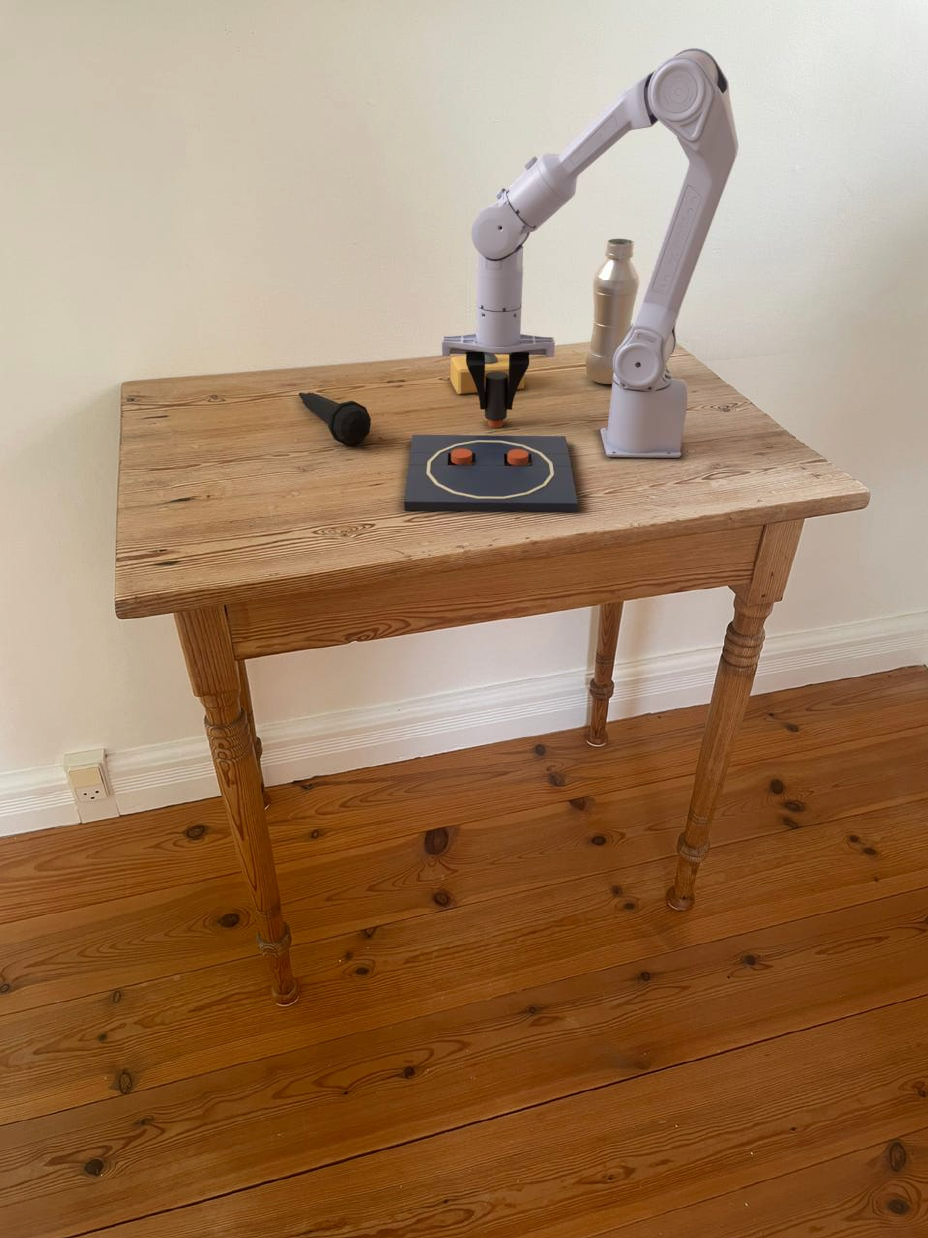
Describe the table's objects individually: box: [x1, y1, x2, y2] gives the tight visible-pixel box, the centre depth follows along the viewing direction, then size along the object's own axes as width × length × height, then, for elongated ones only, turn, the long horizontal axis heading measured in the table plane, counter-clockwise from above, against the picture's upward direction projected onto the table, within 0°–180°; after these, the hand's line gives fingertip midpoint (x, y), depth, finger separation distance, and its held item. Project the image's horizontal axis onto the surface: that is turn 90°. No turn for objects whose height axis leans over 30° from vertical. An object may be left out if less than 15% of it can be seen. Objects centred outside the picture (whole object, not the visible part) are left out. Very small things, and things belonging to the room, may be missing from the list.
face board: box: [403, 434, 579, 513], centre depth 113 cm, size 20×18×1 cm
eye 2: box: [507, 449, 529, 466], centre depth 114 cm, size 3×3×1 cm
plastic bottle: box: [585, 238, 641, 385], centre depth 133 cm, size 6×7×20 cm
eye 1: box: [450, 449, 472, 466], centre depth 114 cm, size 3×3×1 cm
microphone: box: [298, 391, 372, 446], centre depth 125 cm, size 6×6×20 cm
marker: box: [484, 371, 508, 429], centre depth 124 cm, size 3×3×7 cm
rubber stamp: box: [450, 354, 526, 395], centre depth 134 cm, size 10×6×12 cm, turn 103°
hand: (496, 406), depth 124 cm, fingers closed on marker, 3 cm apart
